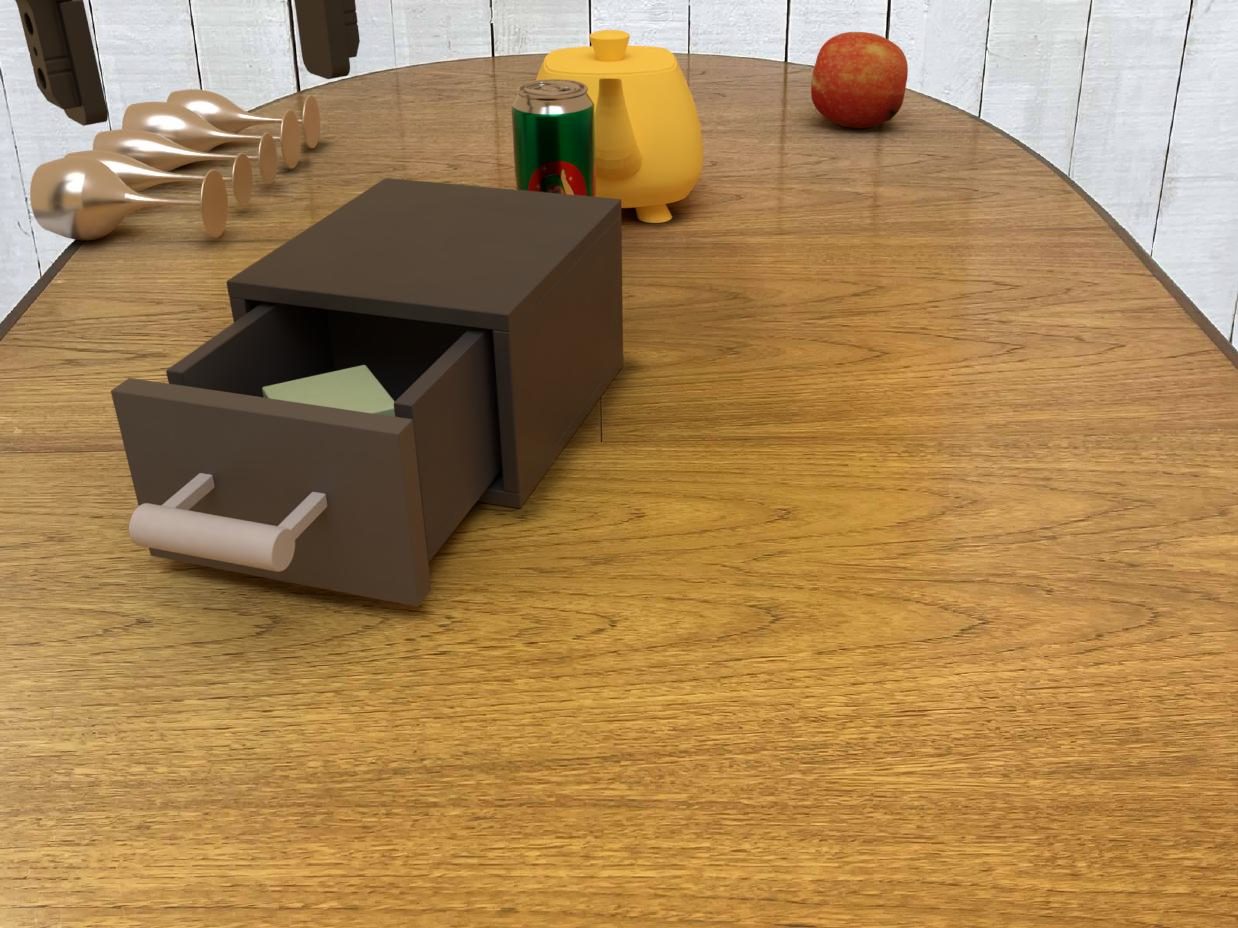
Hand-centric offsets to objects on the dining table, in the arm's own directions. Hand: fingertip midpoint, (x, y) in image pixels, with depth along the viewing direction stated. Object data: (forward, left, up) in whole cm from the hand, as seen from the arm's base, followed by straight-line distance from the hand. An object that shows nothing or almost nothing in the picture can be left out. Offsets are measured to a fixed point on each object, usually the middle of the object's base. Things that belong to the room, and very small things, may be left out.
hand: (213, 96), depth 42 cm
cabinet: (+11, +12, -20) cm, 26 cm away
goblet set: (+12, +53, -18) cm, 57 cm away
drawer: (+3, +3, -19) cm, 20 cm away
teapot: (+33, +37, -20) cm, 53 cm away
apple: (+62, +46, -20) cm, 80 cm away
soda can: (+24, +27, -20) cm, 41 cm away
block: (+3, +3, -18) cm, 19 cm away
